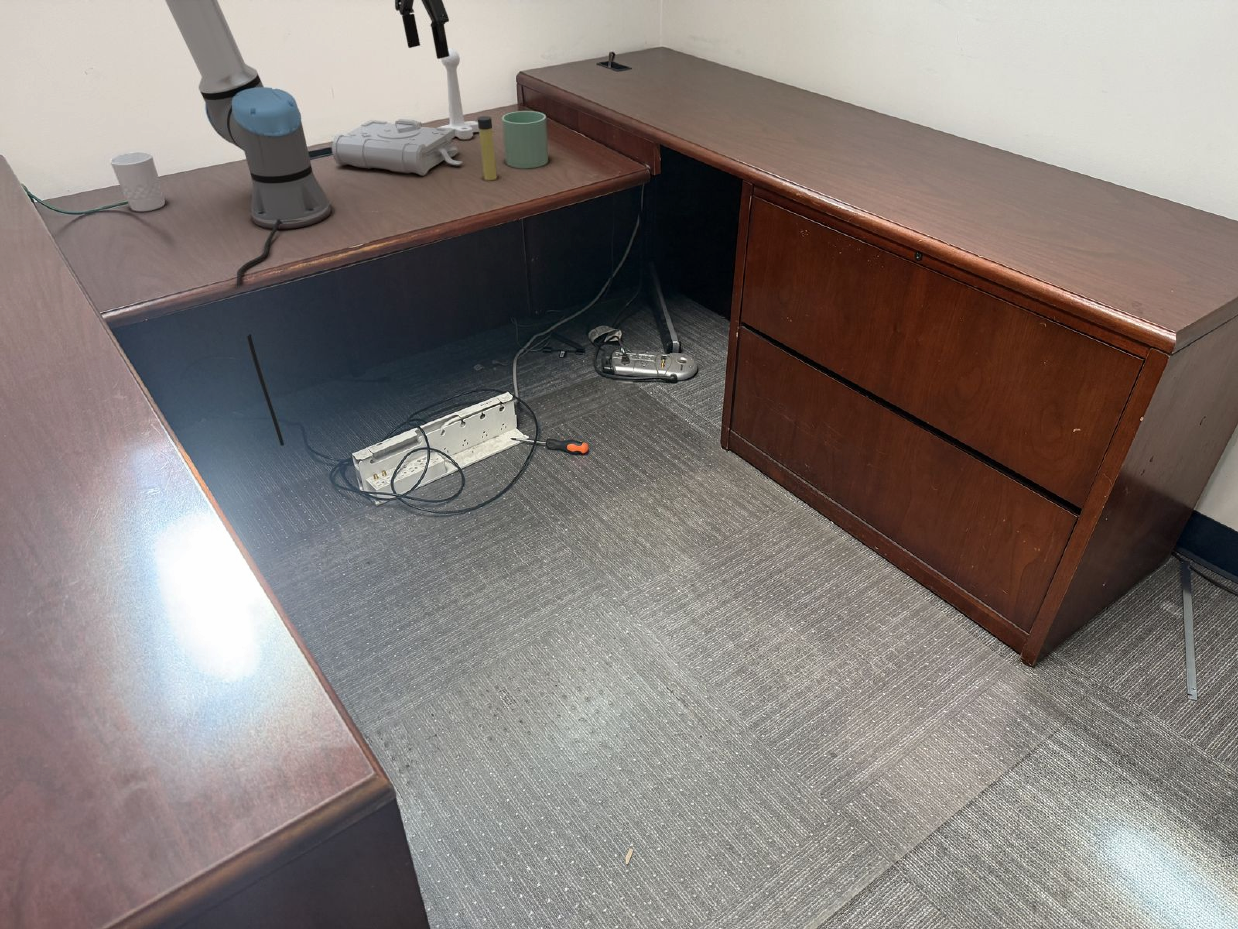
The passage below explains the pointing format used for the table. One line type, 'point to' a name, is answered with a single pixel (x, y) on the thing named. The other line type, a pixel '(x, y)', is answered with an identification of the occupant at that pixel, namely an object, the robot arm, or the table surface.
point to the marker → (487, 147)
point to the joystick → (456, 99)
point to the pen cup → (525, 139)
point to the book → (395, 146)
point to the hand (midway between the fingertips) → (428, 51)
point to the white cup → (138, 180)
